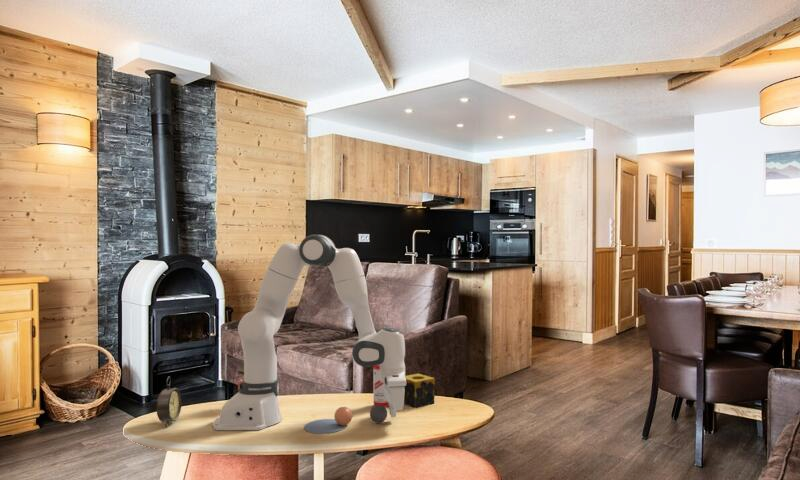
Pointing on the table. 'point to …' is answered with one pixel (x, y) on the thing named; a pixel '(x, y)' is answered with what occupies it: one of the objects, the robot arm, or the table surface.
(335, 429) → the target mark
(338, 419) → the terracotta egg
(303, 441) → the table surface
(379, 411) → the gray ball
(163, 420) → the alarm clock
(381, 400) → the beer can
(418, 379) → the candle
